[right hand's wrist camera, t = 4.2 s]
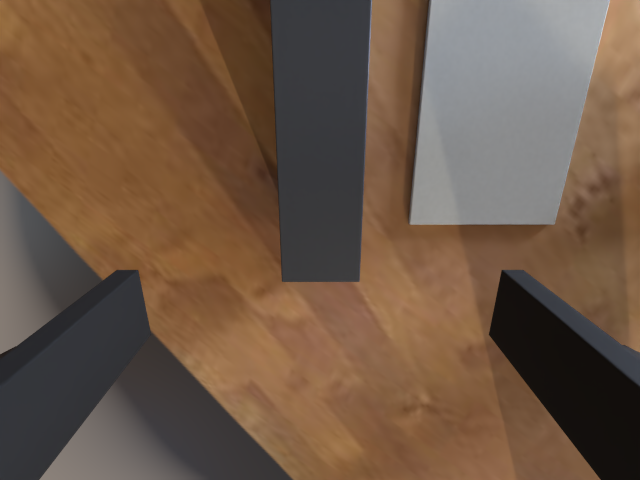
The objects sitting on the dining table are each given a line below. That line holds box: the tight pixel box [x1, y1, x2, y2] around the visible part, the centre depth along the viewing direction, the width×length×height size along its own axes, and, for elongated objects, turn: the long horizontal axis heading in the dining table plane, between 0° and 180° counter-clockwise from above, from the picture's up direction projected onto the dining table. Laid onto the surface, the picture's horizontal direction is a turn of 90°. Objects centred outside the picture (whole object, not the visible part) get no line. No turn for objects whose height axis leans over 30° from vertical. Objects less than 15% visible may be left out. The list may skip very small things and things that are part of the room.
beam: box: [270, 0, 372, 282], centre depth 22 cm, size 30×5×10 cm, turn 0°
